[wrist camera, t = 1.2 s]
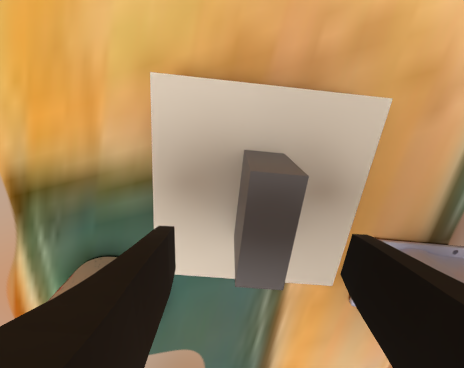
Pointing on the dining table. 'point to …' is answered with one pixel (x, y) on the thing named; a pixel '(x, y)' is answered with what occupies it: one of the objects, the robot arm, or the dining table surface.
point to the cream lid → (259, 176)
